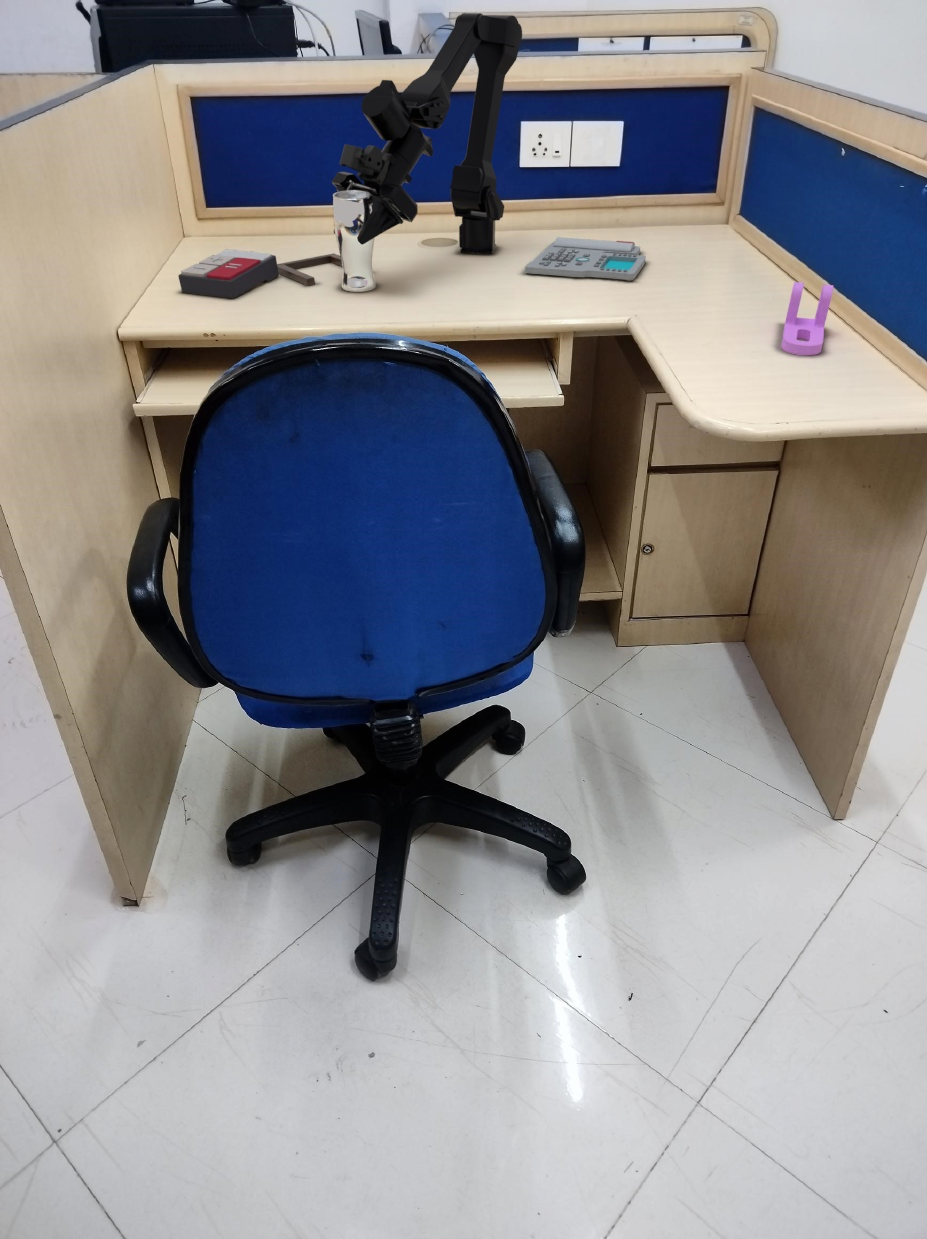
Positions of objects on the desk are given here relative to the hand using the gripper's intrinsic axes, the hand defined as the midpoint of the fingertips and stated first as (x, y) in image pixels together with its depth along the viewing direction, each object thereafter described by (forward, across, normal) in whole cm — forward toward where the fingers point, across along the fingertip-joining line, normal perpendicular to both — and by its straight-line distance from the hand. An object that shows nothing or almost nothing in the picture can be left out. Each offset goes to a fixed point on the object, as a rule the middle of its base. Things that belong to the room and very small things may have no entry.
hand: (347, 238), depth 144 cm
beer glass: (+5, 0, +7) cm, 9 cm away
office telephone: (-26, +15, +38) cm, 48 cm away
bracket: (-21, +66, +33) cm, 77 cm away
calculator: (+17, -16, -5) cm, 24 cm away
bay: (+5, -13, +7) cm, 15 cm away
